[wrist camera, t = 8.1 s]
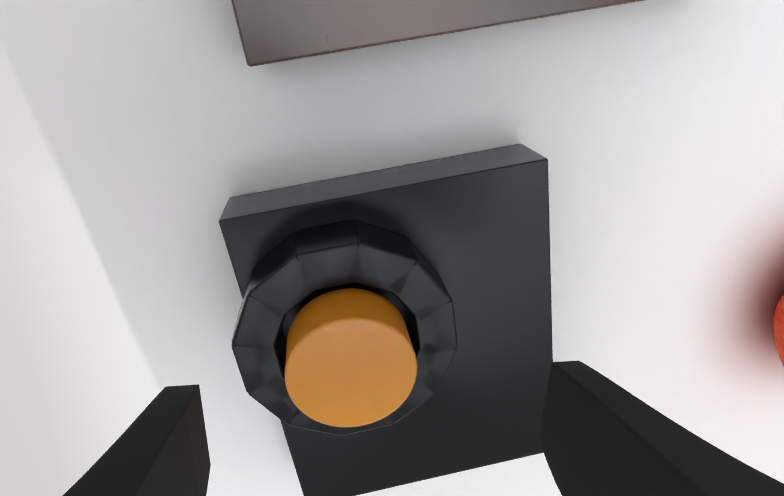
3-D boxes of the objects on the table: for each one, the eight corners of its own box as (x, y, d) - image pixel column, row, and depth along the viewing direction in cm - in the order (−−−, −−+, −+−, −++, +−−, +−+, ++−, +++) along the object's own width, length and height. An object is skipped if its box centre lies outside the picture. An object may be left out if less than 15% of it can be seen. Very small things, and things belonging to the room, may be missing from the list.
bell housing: (301, 464, 22) (299, 551, 18) (221, 198, 17) (197, 246, 13) (533, 412, 23) (576, 487, 19) (521, 143, 18) (575, 174, 14)
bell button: (302, 399, 16) (301, 440, 15) (274, 300, 15) (269, 334, 13) (414, 375, 16) (425, 413, 15) (398, 276, 15) (408, 305, 13)
